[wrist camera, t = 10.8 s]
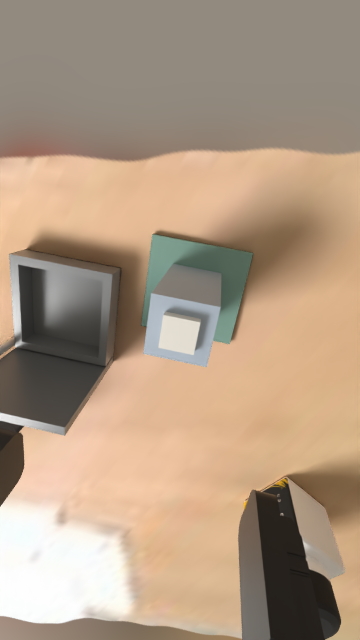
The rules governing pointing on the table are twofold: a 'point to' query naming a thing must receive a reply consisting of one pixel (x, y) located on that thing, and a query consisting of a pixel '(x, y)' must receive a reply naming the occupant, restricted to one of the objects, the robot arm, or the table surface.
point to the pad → (206, 258)
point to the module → (184, 315)
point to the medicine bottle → (313, 546)
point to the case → (56, 338)
